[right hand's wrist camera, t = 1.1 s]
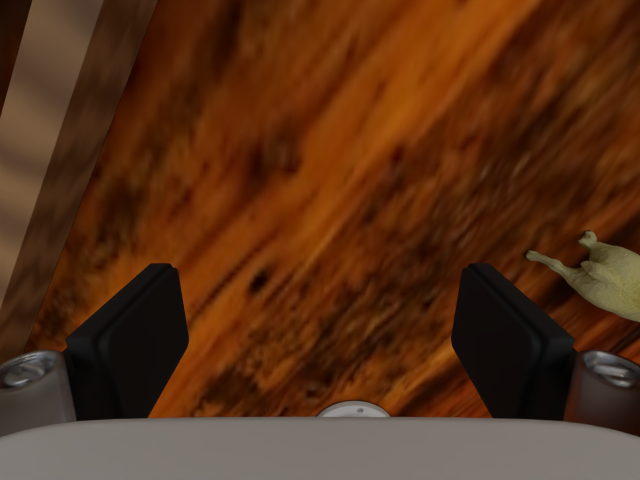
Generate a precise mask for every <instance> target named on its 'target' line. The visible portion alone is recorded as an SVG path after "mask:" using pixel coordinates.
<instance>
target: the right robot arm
mask: <svg viewBox="0 0 640 480" xmlns="http://www.w3.org/2000/svg"><path fill="white" fill-rule="evenodd" d="M65 340H66V343H67V346H68V347H67V348H66V349H65V350H64V351H63V352H62V353H61V352H59V351H57V350H50V349H45V350H37V351H33V352H29V353H26V354H23V355H20V356H18V357H15V358H13V359H11V360H9V361H7V362H5V363H3V364H1V365H0V480H640V365H639V364H637V363H635V362H633V361H631V360H629V359H627V358H625V357H622V356H620V355H617V354H614V353H611V352H607V351H603V350H595V349H590V350H583V351H581V352H579V353H578V352H577V351H576V350H575V349H574V348H573V347H572V346H573V343H574V340H575V339H574V338H573V337H572V336H571V335H570V334H569V333H567V332H566V331H565V330H564V329H563V328H562V327H561V326H559V325H558V324H557V323H556V322H555V321H554V320H553V319H552V318H550V317H549V316H548V315H547V314H546V313H545V312H544V311H542V310H541V309H540V308H539V307H538V306H537V305H536V304H535V303H533V302H532V301H531V300H530V299H529V298H528V297H527V296H526V295H524V294H523V293H522V292H521V291H520V290H519V289H518V288H516V287H515V286H514V285H513V284H512V283H511V282H510V281H509V280H507V279H506V278H505V277H504V276H503V275H502V274H501V273H499V272H498V271H497V270H496V269H495V268H494V267H493V266H492V265H490V264H489V263H471V264H469V265H468V267H467V268H464V269H463V270H462V274H461V280H460V286H459V292H458V298H457V305H456V311H455V317H454V323H453V329H452V335H451V342H452V347H453V349H454V351H455V353H456V354H457V356H458V358H459V360H460V361H461V363H462V365H463V367H464V368H465V370H466V372H467V374H468V375H469V377H470V379H471V381H472V382H473V384H474V386H475V388H476V390H477V391H478V393H479V395H480V397H481V398H482V400H483V402H484V404H485V405H486V407H487V409H488V411H489V412H490V414H491V416H492V418H445V417H390V415H389V414H388V413H387V412H386V411H384V410H383V409H382V408H380V407H378V406H376V405H374V404H371V403H368V402H362V401H347V402H341V403H338V404H334V405H332V406H330V407H328V408H326V409H325V410H324V411H322V412H321V413H320V414H319V415H318V416H317V417H195V418H148V416H149V414H150V412H151V411H152V409H153V407H154V405H155V404H156V402H157V400H158V398H159V397H160V395H161V393H162V391H163V390H164V388H165V386H166V384H167V382H168V381H169V379H170V377H171V375H172V374H173V372H174V370H175V368H176V367H177V365H178V363H179V361H180V360H181V358H182V356H183V354H184V353H185V351H186V349H187V347H188V342H189V335H188V329H187V323H186V317H185V311H184V305H183V298H182V292H181V286H180V280H179V274H178V270H177V269H176V268H173V267H172V265H171V264H169V263H151V264H150V265H148V266H147V267H146V268H145V269H144V270H143V271H142V272H141V273H139V274H138V275H137V276H136V277H135V278H134V279H133V280H131V281H130V282H129V283H128V284H127V285H126V286H125V287H124V288H122V289H121V290H120V291H119V292H118V293H117V294H116V295H114V296H113V297H112V298H111V299H110V300H109V301H108V302H107V303H105V304H104V305H103V306H102V307H101V308H100V309H99V310H98V311H96V312H95V313H94V314H93V315H92V316H91V317H90V318H88V319H87V320H86V321H85V322H84V323H83V324H82V325H81V326H79V327H78V328H77V329H76V330H75V331H74V332H73V333H71V334H70V335H69V336H68V337H67V338H66V339H65Z"/></svg>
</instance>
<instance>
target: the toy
mask: <svg viewBox="0 0 640 480" xmlns="http://www.w3.org/2000/svg"><path fill="white" fill-rule="evenodd" d="M581 237H582V238H581V239H580V240H578V242H579V243H580V244H581V245H582V247H584V248H586V249H587V250H589V252H590V256H589V261H584V262H581V264H580V265H581V266H582V268H576V269H573V268H568V267H565V266H564V265H563V264H562V263H561V262H560V261H558V260H556V259H551V258H549V257H547V256H545V255H542V254H539V253H538V252H535V251H531V250H529V251H527V252H526V254H525V255H526V258H527V259H529V260H531V261H539V262H542V263H544V264H546V265H548V267H549V268H550V269H551V270H553V271H555V272H558V273H559V274H560V275H561V276H562V277H563V278H564V279H565V280H566V281H567V283H568V284H569V285H570V286H572V287H573V288H574V289H575V290H576V291H577V292H578V293H579V294H580V295H581V296H582V297H583V298H585V299H586V300H587V301H589V302H591V303H592V304H594V305H595V306H597V307H600V308H602V309H604V310H607V311H610V312H613V313H615V314H616V315H618V316H621V317H623V318H626V319H630V320H633V321H638V322H640V256H639V255H637V254H636V253H634V252H632V251H630V250H627V249H624V248H622V247H619V246H612V245H607V244H604V243H600V242H596V240H597V238H596V236H595V234H594V233H593V232H592V231H590V230H588V231H585V232H584V234H583V235H581Z"/></svg>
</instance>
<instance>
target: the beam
mask: <svg viewBox="0 0 640 480" xmlns="http://www.w3.org/2000/svg"><path fill="white" fill-rule="evenodd" d="M157 2H158V0H32V4H31V8H30V11H29V15H28V19H27V22H26V26H25V30H24V33H23V37H22V41H21V44H20V48H19V52H18V55H17V59H16V63H15V66H14V70H13V74H12V77H11V81H10V85H9V88H8V92H7V96H6V99H5V103H4V107H3V110H2V114H1V118H0V365H1V364H3V363H5V362H7V361H9V360H11V359H13V358H15V357H18V356H20V355H23V352H24V349H25V347H26V344H27V342H28V339H29V336H30V334H31V331H32V328H33V326H34V323H35V321H36V318H37V315H38V313H39V310H40V308H41V305H42V302H43V300H44V297H45V295H46V292H47V289H48V287H49V284H50V281H51V279H52V276H53V274H54V271H55V268H56V266H57V263H58V261H59V258H60V255H61V253H62V250H63V248H64V245H65V242H66V240H67V237H68V234H69V232H70V229H71V227H72V224H73V221H74V219H75V216H76V214H77V211H78V208H79V206H80V203H81V201H82V198H83V195H84V193H85V190H86V187H87V185H88V182H89V180H90V177H91V174H92V172H93V169H94V167H95V164H96V161H97V159H98V156H99V154H100V151H101V148H102V146H103V143H104V140H105V138H106V135H107V133H108V130H109V127H110V125H111V122H112V120H113V117H114V114H115V112H116V109H117V107H118V104H119V101H120V99H121V96H122V93H123V91H124V88H125V86H126V83H127V80H128V78H129V75H130V73H131V70H132V67H133V65H134V62H135V59H136V57H137V54H138V52H139V49H140V46H141V44H142V41H143V39H144V36H145V33H146V31H147V28H148V26H149V23H150V20H151V18H152V15H153V12H154V10H155V7H156V5H157Z"/></svg>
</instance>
